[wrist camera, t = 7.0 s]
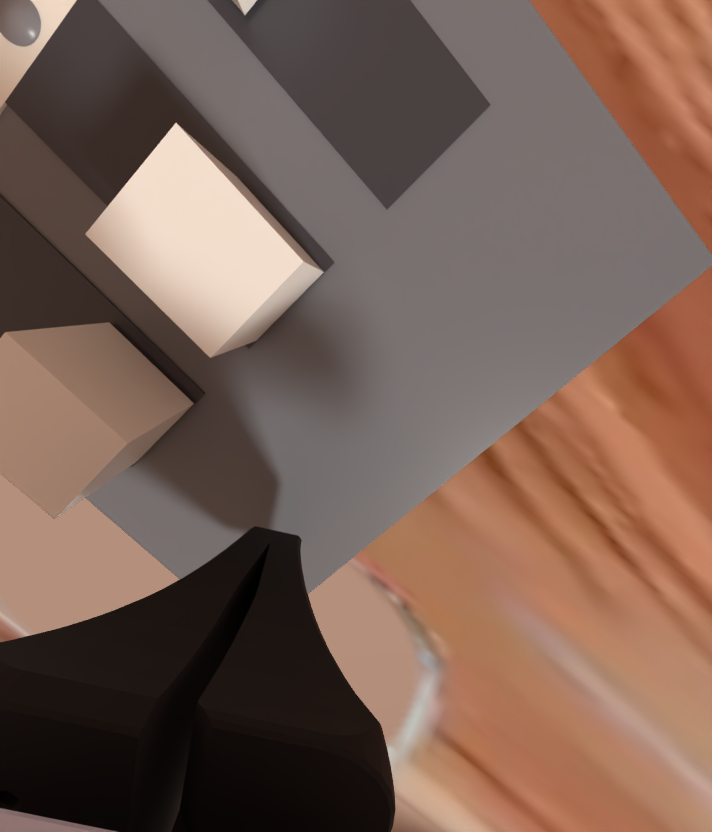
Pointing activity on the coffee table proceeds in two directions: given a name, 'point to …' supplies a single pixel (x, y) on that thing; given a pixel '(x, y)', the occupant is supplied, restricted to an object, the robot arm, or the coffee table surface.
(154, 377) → the tab
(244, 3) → the tab
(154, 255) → the tab
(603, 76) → the coffee table surface
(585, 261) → the switch bank
